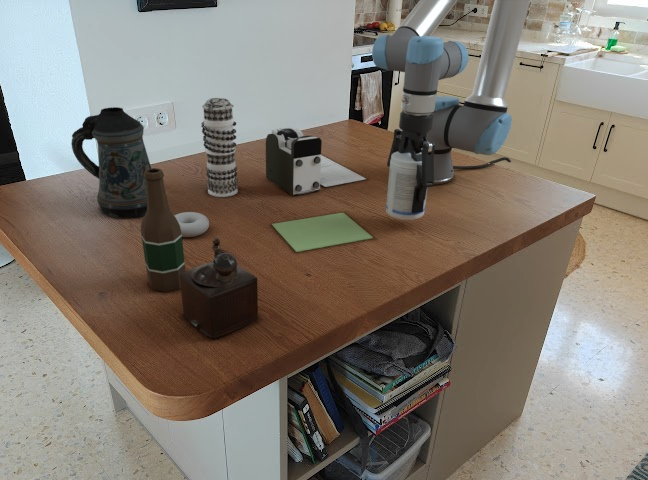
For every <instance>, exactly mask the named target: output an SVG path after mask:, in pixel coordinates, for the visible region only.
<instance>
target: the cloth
mask: <svg viewBox="0 0 648 480" xmlns="http://www.w3.org/2000/svg"><path fill="white" fill-rule="evenodd" d="M271 226H272V227H273V228H274V229H275V230H276V232H277V233H278V234H279V235H280V236H281V237H282V238H283V239H284V240H285V242H286V243H287V244H288V245H289V246H290V247H291V248H292V250H293V251H294V252H295V253H300V252H301V253H302V252H307V251H311V250H316V249H317V250H318V249H322V248H329V247H333V246H339V245H345V244H350V243H355V242H361V241H367V240H372V239H374V237H373V236H372V235H371V234H370V233H368V232H367V231H366V230H365V229H363V227H361V226H360V225H358V224H357V222H356V221H354V220H353V219H351V218H350V217H349V216H348V215H347V214H346V213H344V212H338V213H331V214H324V215H320V216H319V215H318V216H313V217H307V218H301V219H294V220H287V221H281V222H276V223H275V222H274V223H271Z"/></svg>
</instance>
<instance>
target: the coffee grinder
mask: <svg viewBox="0 0 648 480" xmlns="http://www.w3.org/2000/svg"><path fill="white" fill-rule="evenodd" d="M212 244H213V245H212V251H213V252H214V259H213V260H212V261H209V262H207V263H204V264H201V265H198V266H195V267H192V268H189V269H187V270H186V271H184V272H181V273H180V285H181V288H180V293H181V301H182V310H183V314H182V317H183V318H185V319H186V320H187V321H188V322H189V323H190V325H191V326H193V327H194V328H195V329H196V330H198V331H200V332H201V333H202V334H204V335H205V336H207V337H208V338H211V339H213V340H217V339H219V338H222V337H223V338H224V337H226V336H228V335H230V334H232V333H236V332H238V331H239V330H241V329H244V328H246V327H248V326H250V325H252V324H253V323H255V322H256V321H258V320H259V315H258V309H259V308H258V307H259V306H258V305H259V304H258V296H259V295H258V293H259V292H258V277H257V276H255V275H254V274H252V273H251V272H249V271H248V270H246V269H244V268H243V267H241V266H240V265H238V261H237V258H236V256H235V255H233V254H232V253H229V252H225V251H224V250H223V249H222V248H221V247H222V246H221V239H220V238H219V237H214V238H213V240H212Z"/></svg>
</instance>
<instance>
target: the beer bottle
mask: <svg viewBox="0 0 648 480" xmlns="http://www.w3.org/2000/svg"><path fill="white" fill-rule="evenodd" d="M151 168H152V169H147V170H146V171H144V175H143V176H144V177H145V179H146V192H147V212H146V214H145V216H143V218H142V220H141V224H140V235H141V236H140V237H141V242H142V249H143V250H142V251H143V254H144V263H145V269H146V276H147V279H148V283H149V285H150V287H151V288H152V290H154V291H158V292H163V293H168V292H172V291H176V290H181V285H180V273H181V272H184V271H187V270H186V260H185V252H184V241H183V237H182V233H181V228H180V225H179V223H178V221H177V219H176V217H175V216H174V215H175V214H174V213H173V212H172V211H171V210H170V209H171V208H170V206H169V203H168V198H167V197H168V196H167V193H166V187H165V182H164V177H165V173H164V171H163V170H162V169H161V168H157V167H151Z"/></svg>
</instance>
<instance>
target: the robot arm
mask: <svg viewBox="0 0 648 480" xmlns="http://www.w3.org/2000/svg"><path fill="white" fill-rule="evenodd" d="M458 1H459V0H419V1H418V2H417V3H416V4H415V6H414V7H413V8H412V10H411V11H410V12H409V13H408V15H407V16H406V17H405V18H404V20H403V21H402V22H401V24H400V25H399V26H398V27H397V29H396V30H395V31H394V33H393V34H391V35H390V34H382V35H380V36H379V35H378V37H377V38H376V39H375V40H374V42H373V46H372V52H371V57H372V61H373V64H374V65H375V67H377V68H379V69H383V70H387V71H393V72H399V73H404V76H403V77H404V79H403V88H402V98H401V106H400V109H401V110H402V111H401V112H400V113H399V120H398V127H399V128H395V129H394V131H393V140H392V143H391V147H390V151H389V155H388V158H387V162H386V166H387V167H388V168H390V160H391V155H392V154H393V153H395V152H399V153H401V154H402V153H410V154H411V158H412V159H413V160H414V161H416V162H420V161H422V165H417V173H416V179H417V186H415V189H414V197H413V205H412V213H419V212H423V207H424V200H425V198H426V199H427V197H426V191H427V192H428V189H429V188H433V187H434V186H435V185H444V184H448V183H450V182H452V181H453V180H454V172H455V170H477V169H483V168H487V167H490V166H492V165H493V164H497V163H500V162H503V161H506V162H507V163H512V160H511V159H510V158H509V157H506V156H504V157H499V158H497V159H494V160H490V161H489V162H487V163H484V164H479V165H454V164H453V159H452V149H456V150H461V151H465V152H469V153H470V152H471V153H473V154H475V155H482V156H483V155H484V156H492V155H494V154H496V153H497V152H498V151H499V150H500V149H501V148H502V146H503V145H504V144H505V142H506V140H507V138H508V136H509V133H510V130H511V129H512V121H513V118H512V116H511V114H509V113H508V112H507V111H508V109H509V105H508V103H507V102H506V100H505V97H506V93H507V91H508V85H509V83H510V79H511V74H512V71H513V67H514V63H515V59H516V55H517V53H518V48H519V44H520V40H521V37H522V33H523V30H524V25H525V21H526V17H527V14H528V10H529V7H530V3H531V0H494V2H493V5H492V9H491V14H490V18H489V22H488V26H487V29H486V30H487V31H486V35H485V39H484V43H483V47H482V52H481V56H480V60H479V64H478V67H477V73H476V76H475V80H474V84H473V88H472V93H471V94H470V95H469V96H468V97H466V98H465V99H464V103H463V105H461V104H460V102H461V101H460V98H458V97H456V96H448V95H447V96H438V86H439V81H441V80H444V79H451V78H454V77H456V76H457V75H460V74H461V73H463V72H464V70H465V69H466V67H467V65H468V63H469V52H468V49H467V47H466V46H465V45H464V43H462V42H459V41H456V40H455V41H452V40H448V41H444V40H443V39H442V38H441V37H438V36H434V35H433V34H434V32H435V31H436V30H437V28H438V27H439V26H440V24H441V23H442V22H443V21H444V19H445V18H446V16H447V15H448V14H449V13H450V11H451V10H452V9H453V8H454V6H455V5H456V3H457V2H458ZM432 35H433V36H432ZM419 153H421V154H419ZM488 163H490V164H488ZM427 188H428V189H427Z"/></svg>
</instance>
